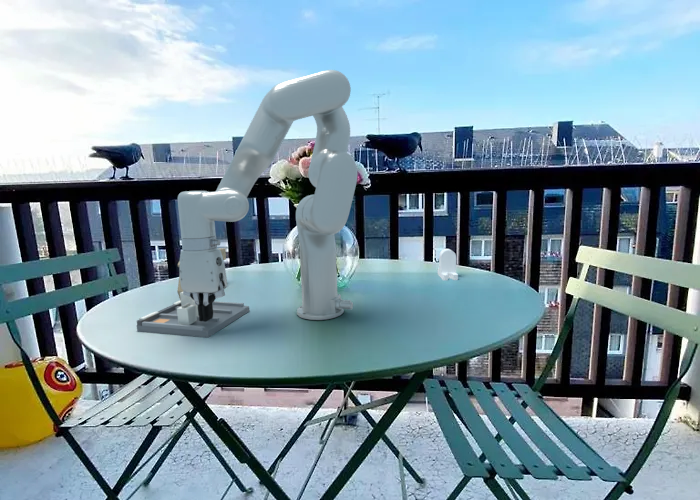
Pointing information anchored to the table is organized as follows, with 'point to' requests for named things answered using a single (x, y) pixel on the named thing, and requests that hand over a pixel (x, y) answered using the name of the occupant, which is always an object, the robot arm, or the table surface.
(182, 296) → the white block
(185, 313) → the pale grey rectangular block
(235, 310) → the grey compartment tray
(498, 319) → the table surface
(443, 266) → the cable organizer
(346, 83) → the robot arm
